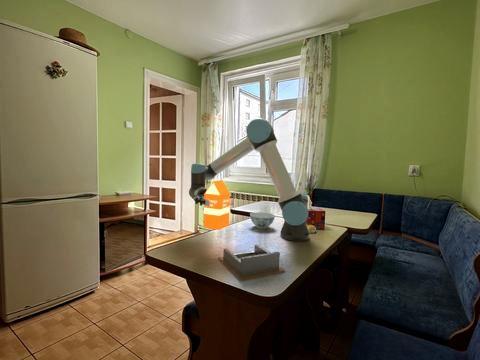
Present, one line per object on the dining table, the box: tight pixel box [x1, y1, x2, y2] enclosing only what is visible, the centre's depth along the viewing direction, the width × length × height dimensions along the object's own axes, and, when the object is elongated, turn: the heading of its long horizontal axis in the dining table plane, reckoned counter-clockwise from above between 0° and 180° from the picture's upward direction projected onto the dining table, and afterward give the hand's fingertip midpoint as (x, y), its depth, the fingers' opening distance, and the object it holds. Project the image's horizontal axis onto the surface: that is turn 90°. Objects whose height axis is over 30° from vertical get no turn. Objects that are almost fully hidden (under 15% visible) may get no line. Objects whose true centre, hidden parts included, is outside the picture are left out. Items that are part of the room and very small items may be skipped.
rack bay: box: [217, 244, 286, 282], centre depth 96 cm, size 20×18×7 cm
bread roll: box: [307, 224, 317, 234], centre depth 148 cm, size 8×9×4 cm
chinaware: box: [249, 211, 276, 230], centre depth 152 cm, size 15×15×8 cm
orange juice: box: [203, 179, 231, 231], centre depth 108 cm, size 8×9×20 cm
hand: (220, 202), depth 104 cm, fingers closed on orange juice, 10 cm apart
